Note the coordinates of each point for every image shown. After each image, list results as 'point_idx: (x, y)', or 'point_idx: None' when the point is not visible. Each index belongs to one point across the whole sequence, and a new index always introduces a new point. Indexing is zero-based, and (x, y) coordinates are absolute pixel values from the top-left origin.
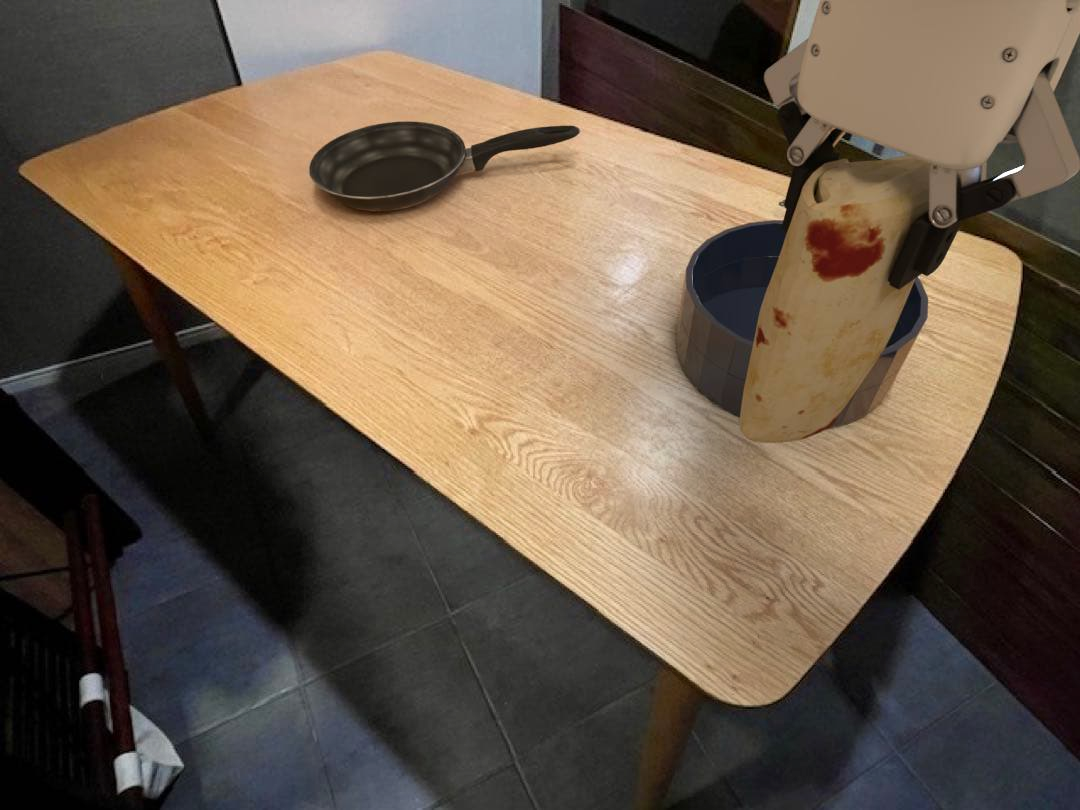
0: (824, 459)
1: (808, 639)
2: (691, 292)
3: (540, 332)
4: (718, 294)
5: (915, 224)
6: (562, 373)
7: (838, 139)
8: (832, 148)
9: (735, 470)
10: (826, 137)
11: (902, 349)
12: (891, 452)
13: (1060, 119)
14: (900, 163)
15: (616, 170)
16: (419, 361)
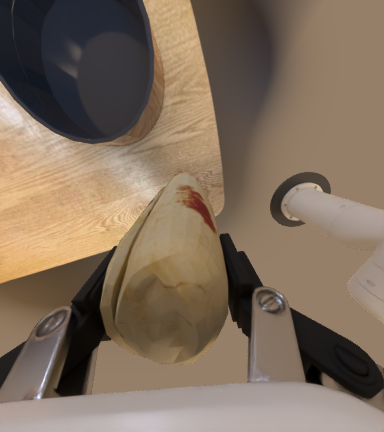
0: (174, 124)
1: (220, 188)
2: (60, 133)
3: (57, 185)
4: (44, 74)
5: (237, 324)
6: (87, 190)
7: (68, 334)
8: (81, 328)
9: (161, 162)
10: (85, 389)
11: (153, 44)
12: (186, 90)
13: None
14: (146, 280)
15: None
16: (65, 231)
